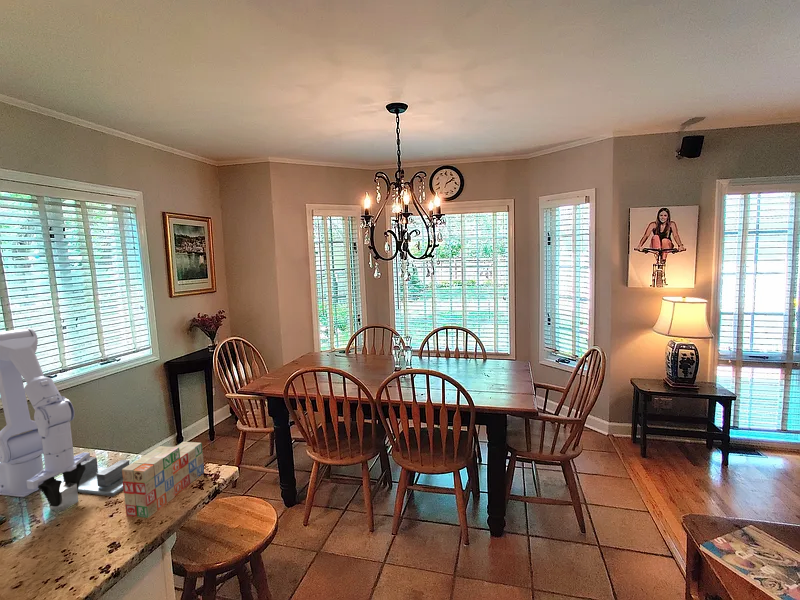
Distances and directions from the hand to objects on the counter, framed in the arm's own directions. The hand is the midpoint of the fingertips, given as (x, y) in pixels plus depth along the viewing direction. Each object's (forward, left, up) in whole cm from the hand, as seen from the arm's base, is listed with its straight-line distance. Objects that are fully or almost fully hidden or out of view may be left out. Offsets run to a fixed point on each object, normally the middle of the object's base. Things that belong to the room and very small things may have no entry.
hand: (63, 500), depth 105 cm
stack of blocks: (+22, +9, -2) cm, 24 cm away
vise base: (-1, +11, -1) cm, 11 cm away
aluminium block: (0, 0, -1) cm, 1 cm away
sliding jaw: (+4, +11, 0) cm, 12 cm away
